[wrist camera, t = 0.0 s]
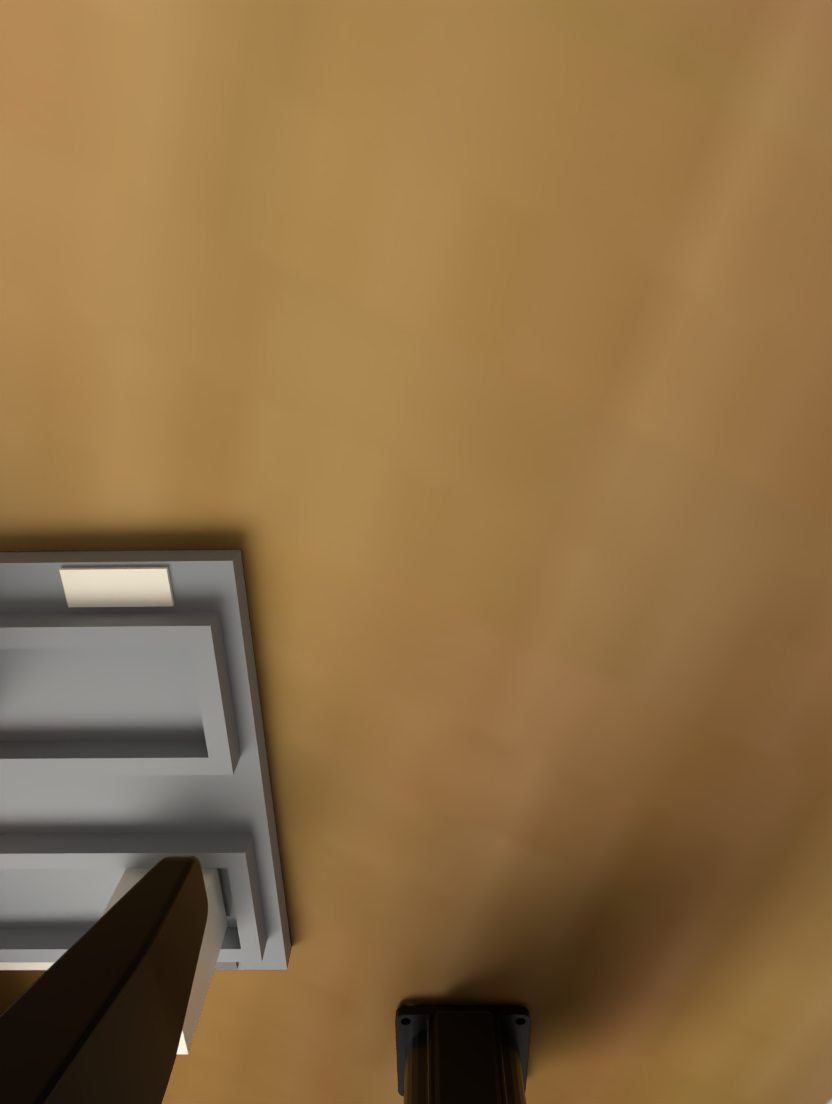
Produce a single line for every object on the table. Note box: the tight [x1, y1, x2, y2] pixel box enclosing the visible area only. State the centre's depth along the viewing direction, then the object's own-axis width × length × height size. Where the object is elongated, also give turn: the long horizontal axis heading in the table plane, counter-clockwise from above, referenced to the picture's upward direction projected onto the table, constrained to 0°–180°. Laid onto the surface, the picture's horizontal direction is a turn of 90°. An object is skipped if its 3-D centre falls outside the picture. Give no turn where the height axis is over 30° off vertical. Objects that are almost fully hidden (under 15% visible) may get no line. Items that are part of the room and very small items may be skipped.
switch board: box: [0, 550, 291, 970], centre depth 25 cm, size 20×16×2 cm
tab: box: [101, 868, 228, 1054], centre depth 24 cm, size 4×4×6 cm
